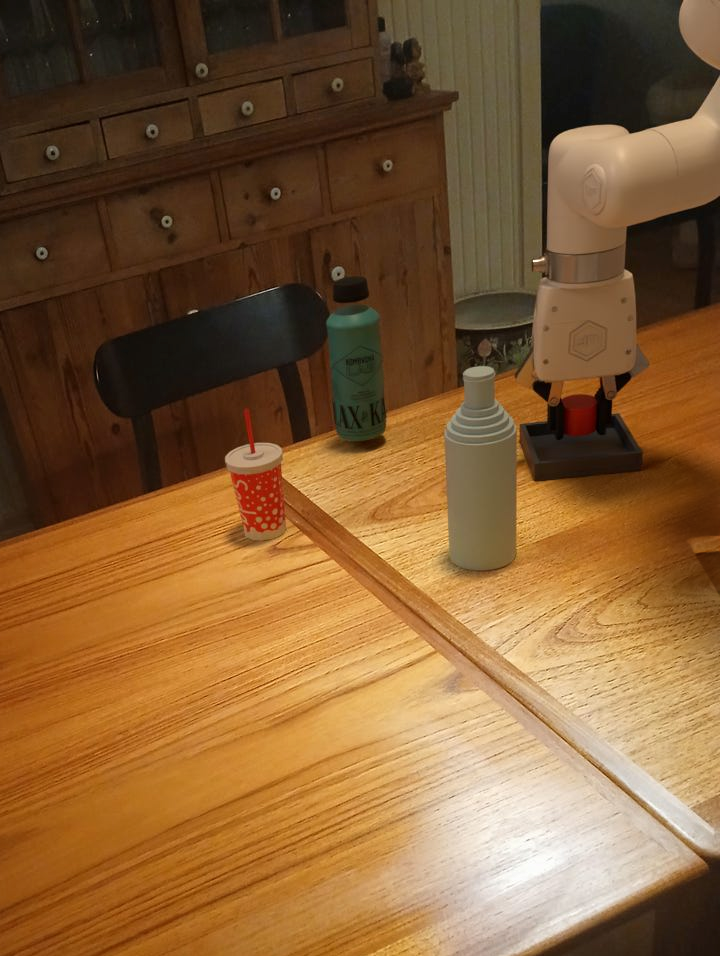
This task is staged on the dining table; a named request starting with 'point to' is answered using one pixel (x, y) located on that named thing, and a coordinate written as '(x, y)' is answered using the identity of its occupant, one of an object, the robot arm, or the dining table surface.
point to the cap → (580, 414)
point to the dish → (580, 451)
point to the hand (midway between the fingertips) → (578, 431)
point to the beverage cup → (258, 486)
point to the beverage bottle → (356, 363)
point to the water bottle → (481, 477)
